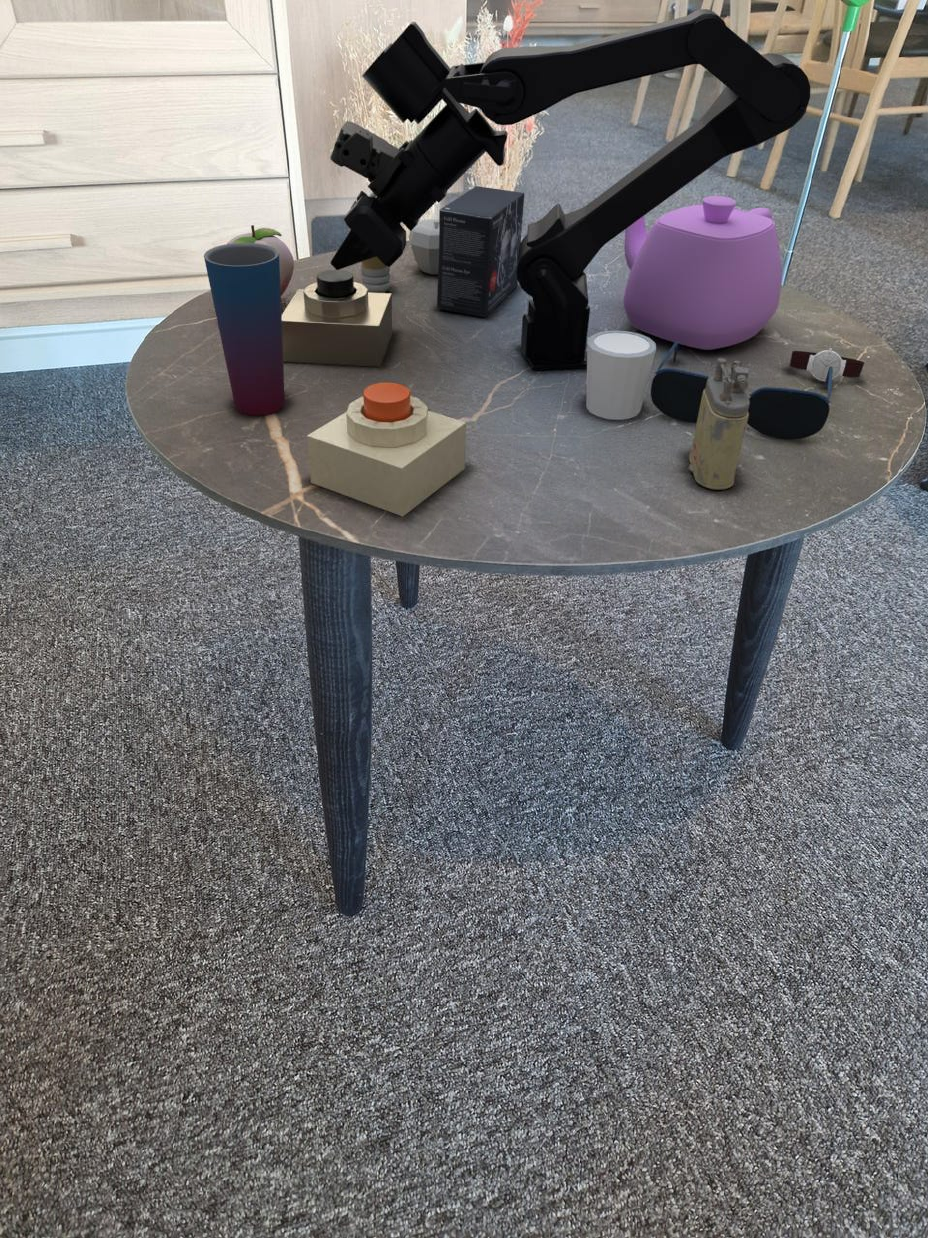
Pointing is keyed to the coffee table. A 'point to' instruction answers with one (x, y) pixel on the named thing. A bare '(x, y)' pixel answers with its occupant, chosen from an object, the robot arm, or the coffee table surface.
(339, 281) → the button
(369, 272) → the light bulb
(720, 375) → the lighter
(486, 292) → the small box
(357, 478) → the beige button housing
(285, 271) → the decorative fruit
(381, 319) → the beige button base
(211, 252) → the cup
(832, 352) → the watch
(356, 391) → the coffee table surface
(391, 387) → the power button
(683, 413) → the sunglasses
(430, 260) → the white faceted pot
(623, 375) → the white tapered cylinder
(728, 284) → the teapot
